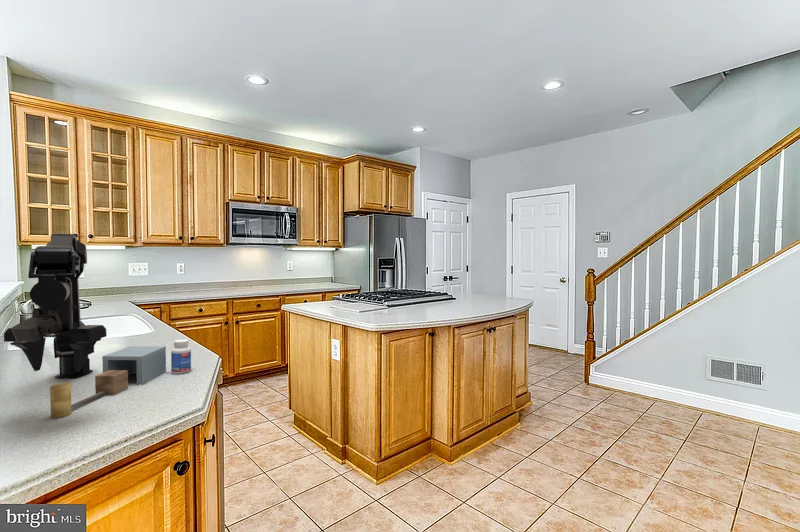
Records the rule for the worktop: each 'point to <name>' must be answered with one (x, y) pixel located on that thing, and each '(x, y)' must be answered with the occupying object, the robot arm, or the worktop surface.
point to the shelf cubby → (138, 361)
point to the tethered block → (104, 385)
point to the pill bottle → (181, 357)
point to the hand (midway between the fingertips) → (57, 370)
